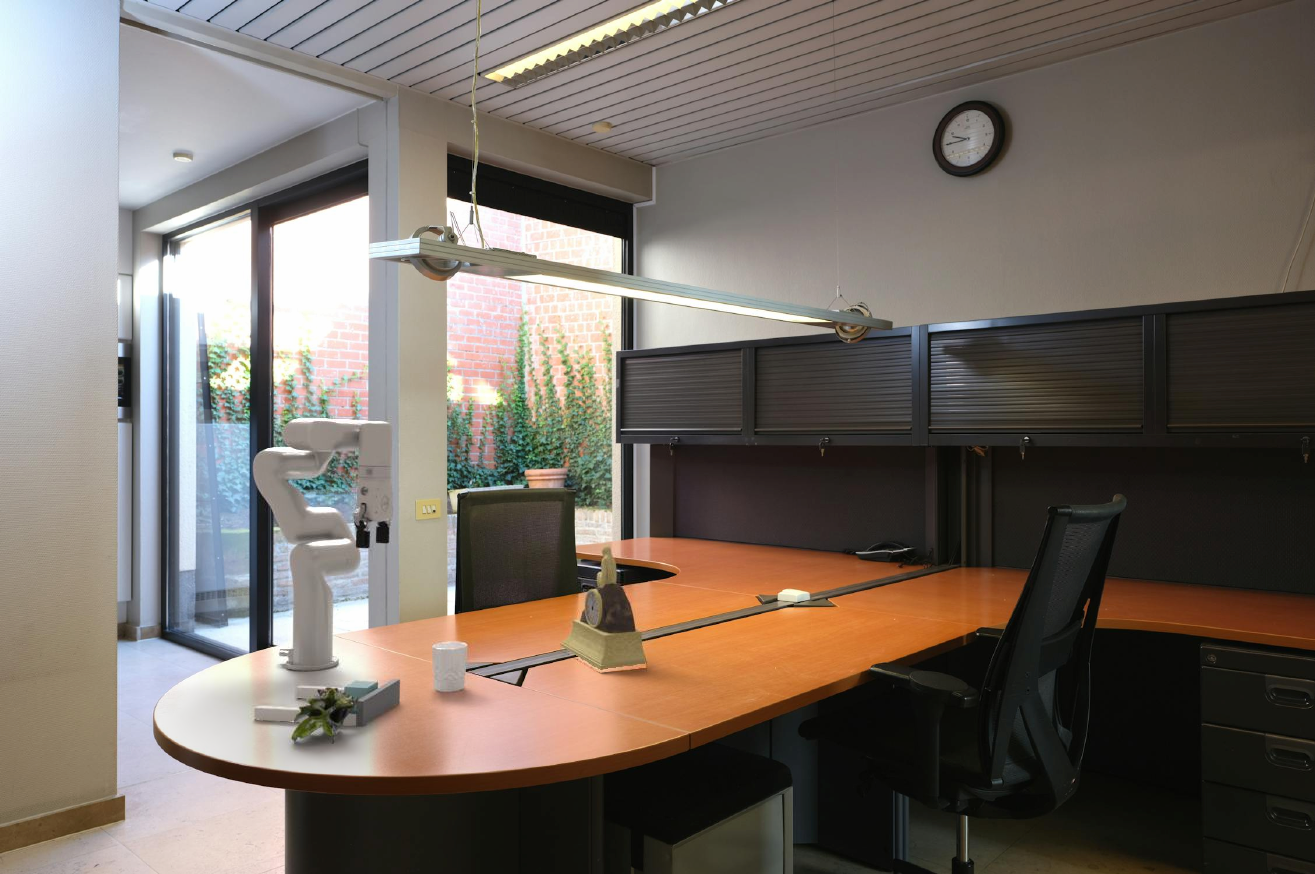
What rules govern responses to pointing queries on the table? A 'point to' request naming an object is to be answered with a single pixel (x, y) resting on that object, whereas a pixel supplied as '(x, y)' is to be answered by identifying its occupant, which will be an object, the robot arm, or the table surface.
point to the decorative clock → (606, 624)
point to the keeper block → (360, 688)
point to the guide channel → (367, 705)
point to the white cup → (449, 666)
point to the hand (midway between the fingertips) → (372, 545)
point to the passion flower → (325, 713)
